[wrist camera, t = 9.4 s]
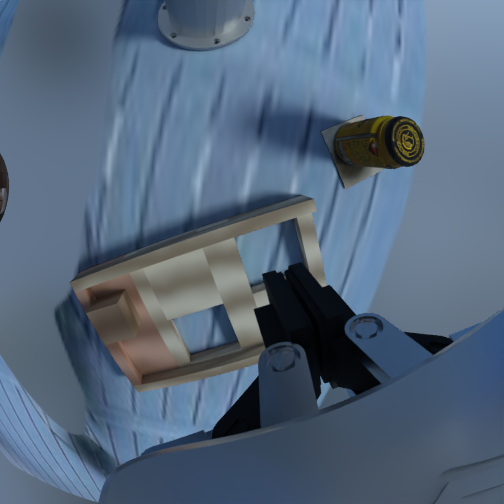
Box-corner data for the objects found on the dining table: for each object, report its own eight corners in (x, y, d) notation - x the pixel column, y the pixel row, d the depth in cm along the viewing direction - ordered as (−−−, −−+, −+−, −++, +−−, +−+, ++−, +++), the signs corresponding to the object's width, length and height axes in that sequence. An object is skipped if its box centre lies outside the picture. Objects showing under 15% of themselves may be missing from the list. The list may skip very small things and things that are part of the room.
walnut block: (96, 298, 32) (85, 313, 28) (125, 288, 32) (117, 303, 29) (112, 328, 34) (104, 344, 30) (141, 320, 34) (135, 336, 30)
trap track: (81, 271, 33) (69, 282, 29) (302, 195, 34) (313, 198, 30) (142, 375, 39) (138, 392, 36) (328, 319, 41) (338, 333, 37)
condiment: (362, 115, 32) (418, 102, 21) (383, 169, 35) (441, 176, 24) (320, 131, 32) (369, 119, 21) (344, 189, 35) (398, 202, 24)
